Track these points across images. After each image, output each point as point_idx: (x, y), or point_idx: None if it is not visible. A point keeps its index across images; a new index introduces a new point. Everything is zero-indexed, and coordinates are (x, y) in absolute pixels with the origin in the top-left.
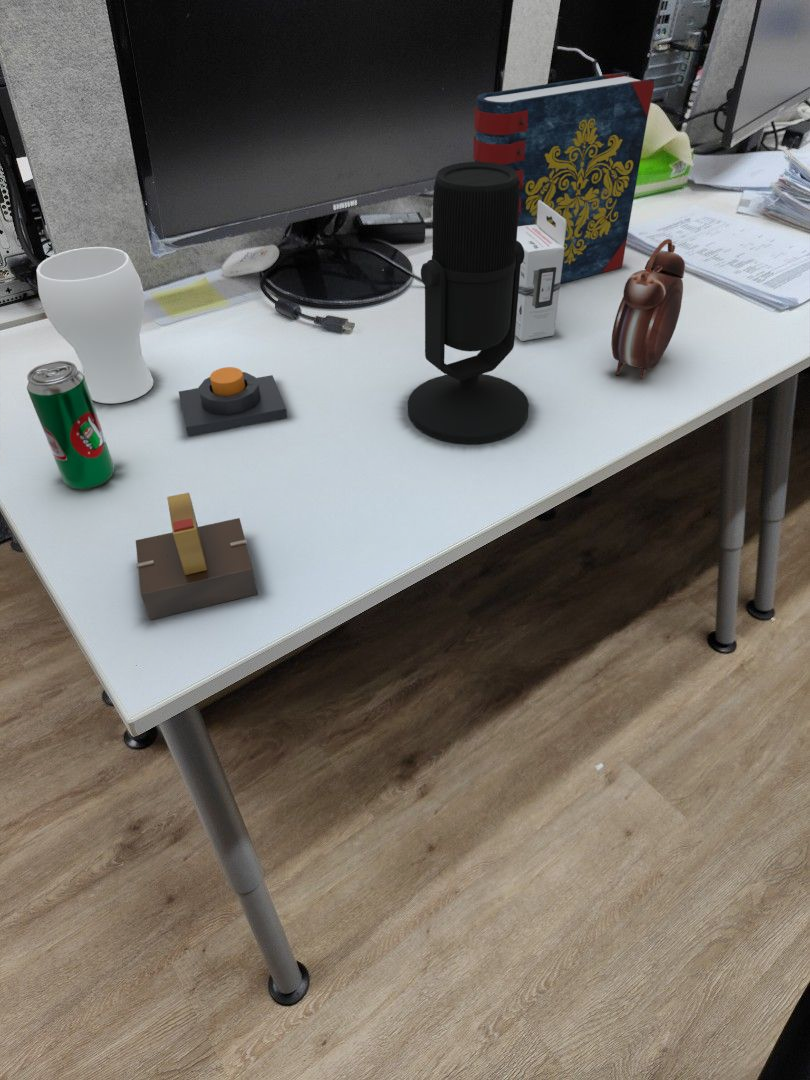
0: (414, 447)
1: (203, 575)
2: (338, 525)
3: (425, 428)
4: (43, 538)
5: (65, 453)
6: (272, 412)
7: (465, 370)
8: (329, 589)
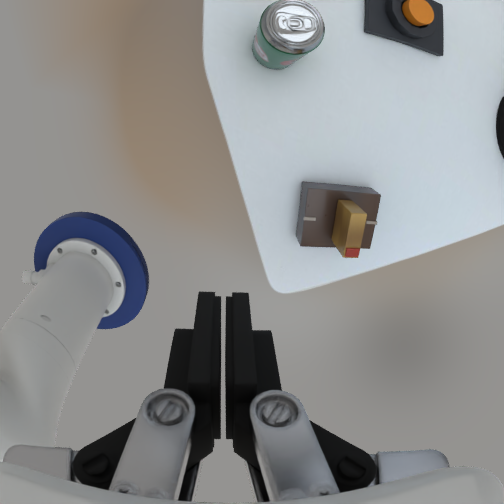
0: (487, 145)
1: None
2: (424, 197)
3: (500, 137)
4: (230, 117)
5: (269, 61)
6: (433, 51)
7: None
8: (395, 249)
